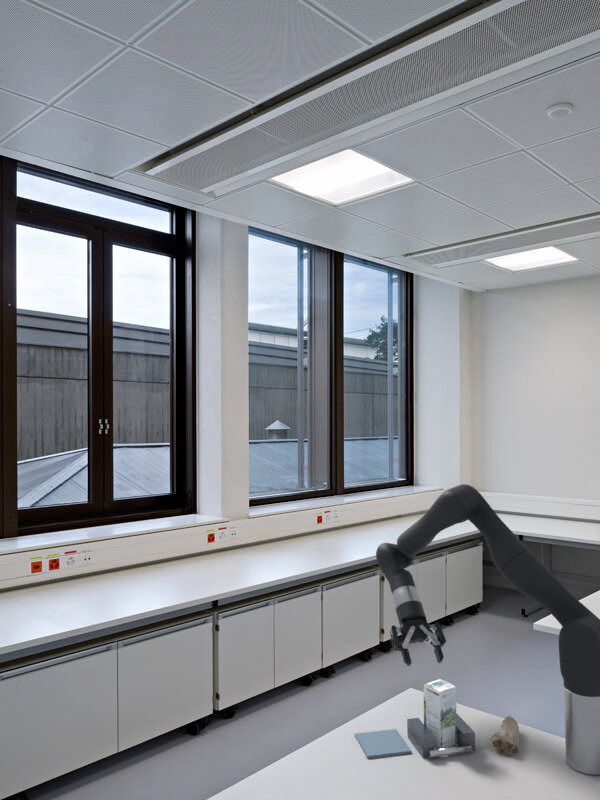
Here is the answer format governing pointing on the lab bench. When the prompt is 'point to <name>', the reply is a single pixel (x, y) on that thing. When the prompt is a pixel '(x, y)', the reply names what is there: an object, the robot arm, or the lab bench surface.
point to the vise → (426, 740)
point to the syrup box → (440, 713)
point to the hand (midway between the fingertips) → (425, 663)
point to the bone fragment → (507, 737)
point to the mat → (382, 743)
